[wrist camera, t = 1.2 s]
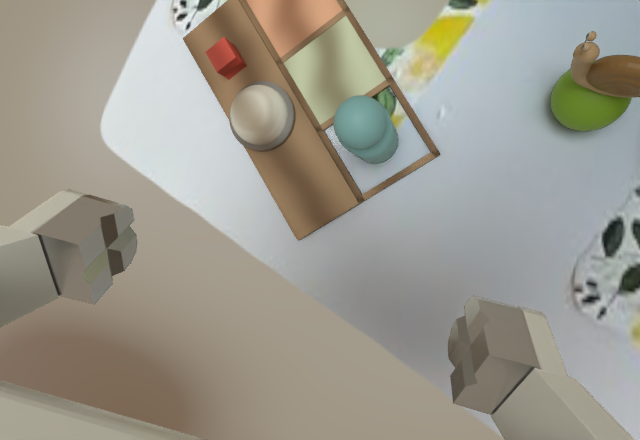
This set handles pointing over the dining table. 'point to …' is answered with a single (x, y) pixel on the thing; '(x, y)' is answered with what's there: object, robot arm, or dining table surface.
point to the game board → (295, 97)
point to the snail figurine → (595, 88)
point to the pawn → (366, 129)
